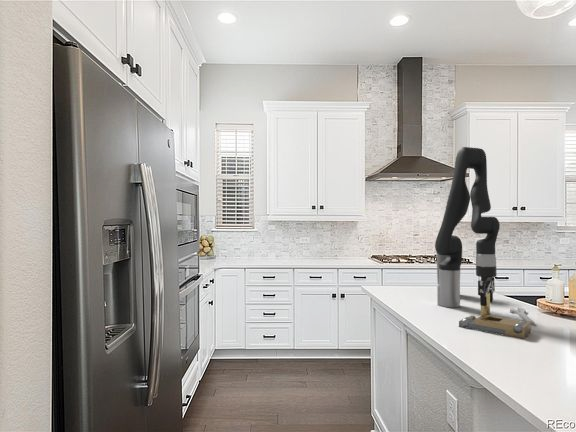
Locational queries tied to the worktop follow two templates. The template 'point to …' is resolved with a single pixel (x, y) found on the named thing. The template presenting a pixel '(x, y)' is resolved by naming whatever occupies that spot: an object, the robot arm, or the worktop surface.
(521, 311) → the adjustable wrench
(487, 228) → the robot arm
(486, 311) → the pin
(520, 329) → the brass frame with rod
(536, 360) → the worktop surface
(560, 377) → the worktop surface
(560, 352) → the worktop surface
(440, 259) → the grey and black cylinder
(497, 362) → the worktop surface
